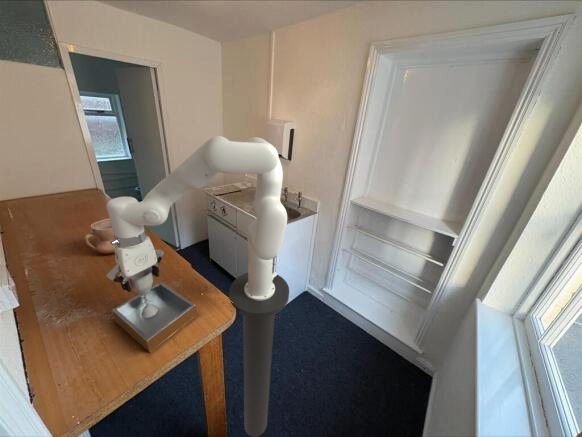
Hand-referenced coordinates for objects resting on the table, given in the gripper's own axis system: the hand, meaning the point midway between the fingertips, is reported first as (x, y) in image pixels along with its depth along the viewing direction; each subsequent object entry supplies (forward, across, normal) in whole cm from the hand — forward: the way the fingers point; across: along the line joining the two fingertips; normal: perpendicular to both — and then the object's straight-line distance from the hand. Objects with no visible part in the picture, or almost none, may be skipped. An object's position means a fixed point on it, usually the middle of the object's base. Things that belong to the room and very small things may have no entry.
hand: (142, 282), depth 77 cm
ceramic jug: (+14, +12, +52) cm, 55 cm away
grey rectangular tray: (+14, 0, -4) cm, 15 cm away
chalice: (+14, 0, 0) cm, 14 cm away
